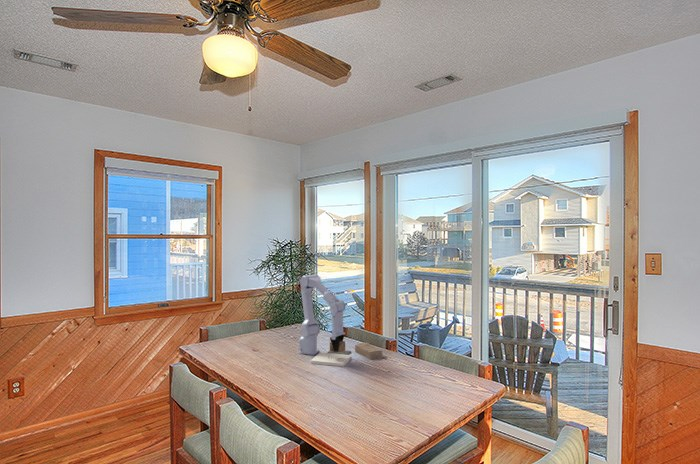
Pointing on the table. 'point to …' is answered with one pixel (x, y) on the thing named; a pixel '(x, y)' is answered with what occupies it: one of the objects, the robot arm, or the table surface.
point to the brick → (368, 351)
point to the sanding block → (341, 347)
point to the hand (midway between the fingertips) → (337, 349)
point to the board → (331, 359)
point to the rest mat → (343, 353)
